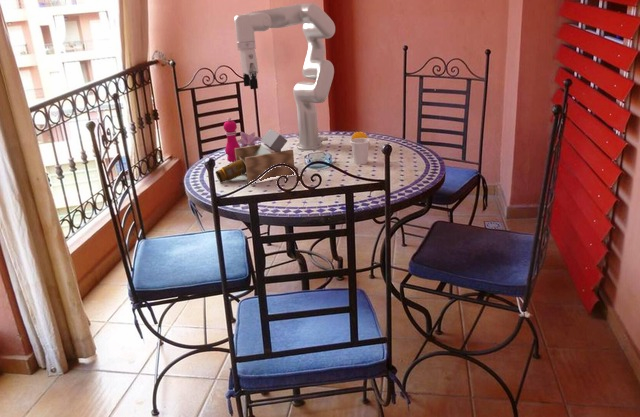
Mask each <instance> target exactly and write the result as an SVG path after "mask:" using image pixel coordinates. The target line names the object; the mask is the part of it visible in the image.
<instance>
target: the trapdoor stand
mask: <svg viewBox="0 0 640 417" xmlns="http://www.w3.org/2000/svg"><path fill="white" fill-rule="evenodd" d="M263 143H264V142H263ZM261 144H262V143H260V144H255V145H252V146H250V145H248V146H246V147H241V146H240V148H235V156H236V161H238V160H240V158H242V159H243V160H244V161H245V163H246V171H247V174H246V178H247V179H246V180H247V184H248V183H249V182H250V181H252V180H254V179H256V178H257V177H258V176H259V175H261V174H262V173H263V172H264V171H265V170H267V169H268V168H270V167H271V166H273V165H276V164H280V163H285V164H288V165H290V166H292V167H294V168H295V169H296V171H297V172H298V173H299V168H298V167H297V166H295V156H294V149H287V150H282V149H281V150H280V151H279V152H276V151H275V152H274V153H268V154H263V155H257V156H253V155H254V154H255V153H256V151H257V150H258V149H259V147H260V146H261ZM264 144H265V143H264ZM267 146H268V145H267ZM268 147H269V146H268ZM271 149H272V148H271ZM272 150H273V149H272ZM239 157H240V158H239ZM292 174H293V175H294V172H293V171H292V170H291V169H290V168H288V167H285V166H281V167H276V168H273V169H272V170H270V171H269V172H267V173H266V174H265V175H264V176H263V177H262V178H261V179H259V180H260V181H262V180H264V179H267V178H270V177H276V176H281V175H286V176H287V175H292ZM255 184H257V183H256V182H255Z"/></svg>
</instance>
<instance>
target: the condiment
mask: <svg viewBox="0 0 640 417" xmlns="http://www.w3.org/2000/svg"><path fill="white" fill-rule="evenodd" d="M239 158H240V157H239ZM246 173H247V171H246V163H245V161H244V160H243V159H242V158H240V160H238V161H234V162H230V163H229V164H227V165H225V166H223V167H221V168H220V169H218V170H216V171H215V175H216V177H217V179H218V182H219V183H220V184H223V183H225V182H229V181H231V180H233V179H236V178H237V177H240V176H242V175H244V174H246Z"/></svg>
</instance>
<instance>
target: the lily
mask: <svg viewBox="0 0 640 417" xmlns="http://www.w3.org/2000/svg"><path fill="white" fill-rule="evenodd" d="M239 134H240V137H241V139H238V140H237V142H238V144H241V145H240V147H246V146H252V145H256V142H258V141H261V139H262V138H263V137H261V136H256V133H255V132H252V133H250V134H249V133H246V132H243V131H240V132H239Z"/></svg>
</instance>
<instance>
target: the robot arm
mask: <svg viewBox="0 0 640 417" xmlns="http://www.w3.org/2000/svg"><path fill="white" fill-rule="evenodd" d="M233 20H234V28H235V37H236V45H237V50H238V51H239V55H240V56H239V58H240V65H241V66H240V67H241V68H240V69H241V72H242V79H243V86H244V87H249V89H250V90H256V89H257V90H258V89H259V86H258V85H259V84H258V76H257V74H258V73H259V65H258V61H257V60H258V58H257V54H256V48H257V47H256V38H255V37H256V36H255V32H266V31H268V30H269V29H282V28H283V29H284V28H288V27H292V26H297V25H302V33H303V35H304V37H305V40H306V42H307V51H306V55H305V58H304V63H303V66H302V71H301V73H302V76H303V78H305V79H306V80H307V81H306V80H305V81H304V80H303V81H298V82H297V83H295V85H294V87H293V89H292V90H293V92H292V93H293V94H292V95H293V98H294V101H295V102H294V103H295V105H296V114H297V128H298V138H299V139H298V141H299V143H297V144H296V149H298V150H303V151H308V150H309V151H310V150H312V151H313V150H316V149H317V150H318V149H320V148H322V147H323V143H322V142H327V141H329V137H328V136H319V124H318V110H317V106H316V104H323V103H324V102H325V101H326V100H327V98H328V97H329V92H330V90H331V86H332V83H333V79H334V76H335V75H334V74H335V68H334V65H333V63H332V62H331V61H330V60H328V59H325V56H326V46H325V43H324V41H323V39H331V38H332V37H333V36H334V35H335V33H336V25H335V23H334V21H333V20H332V19H331V17H330V16H329V15H328V14H327V12H325V11H324V10H323V9H322V7H320V6H319V5H318V4H316V3H315V2H314V3H309V2H308V3H296V4H291V5H284V6H279V7H273V8H269V9H263V10H257V11H251V12H246V13H244V14H237V15H235V16H234V19H233ZM308 80H310V81H308Z"/></svg>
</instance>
